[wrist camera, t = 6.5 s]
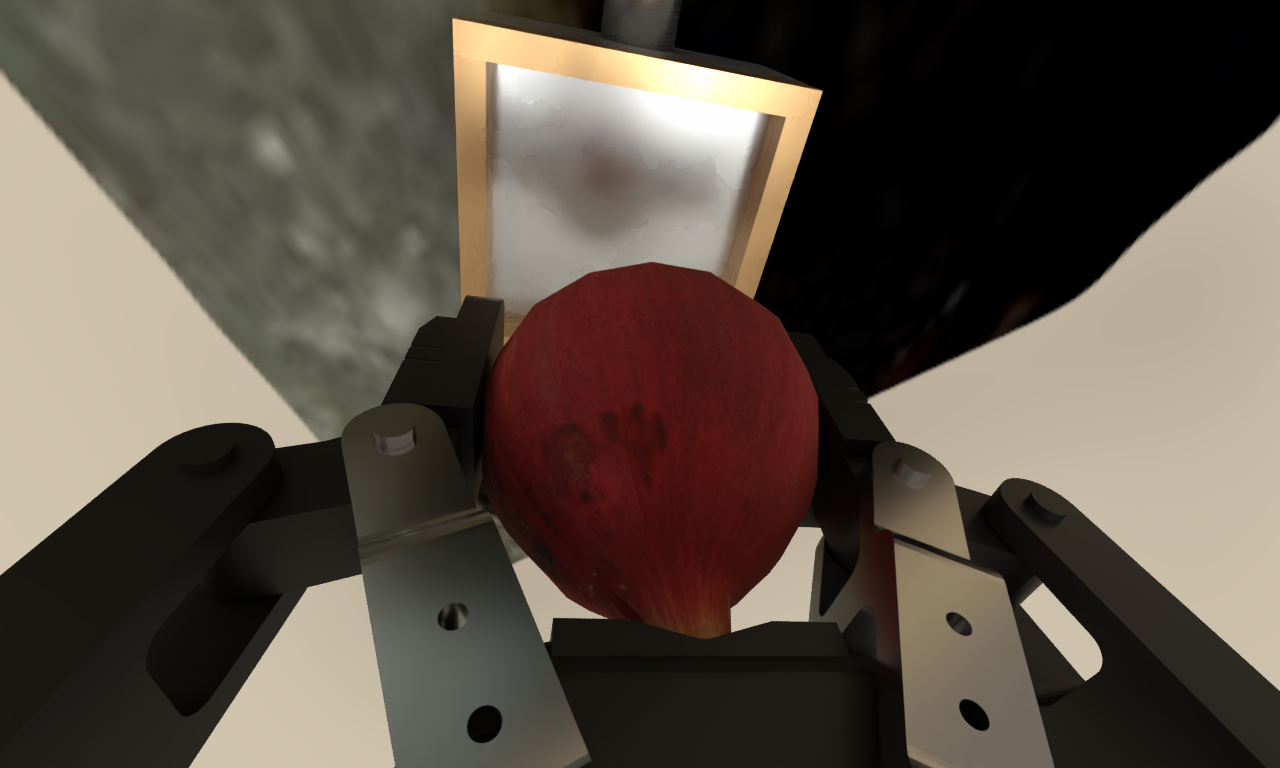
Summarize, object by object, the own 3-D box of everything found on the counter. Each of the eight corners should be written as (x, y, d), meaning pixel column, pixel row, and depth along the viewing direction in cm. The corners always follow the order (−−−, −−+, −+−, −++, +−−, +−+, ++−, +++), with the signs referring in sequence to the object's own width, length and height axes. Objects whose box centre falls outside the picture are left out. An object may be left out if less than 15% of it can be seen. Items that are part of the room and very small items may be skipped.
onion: (504, 407, 14) (430, 777, 7) (514, 180, 10) (392, 492, 4) (718, 427, 15) (821, 766, 8) (790, 226, 11) (1058, 532, 5)
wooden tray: (490, -105, 17) (447, -149, 11) (786, -35, 18) (867, -45, 13) (489, 274, 24) (462, 351, 19) (698, 298, 26) (727, 376, 21)
